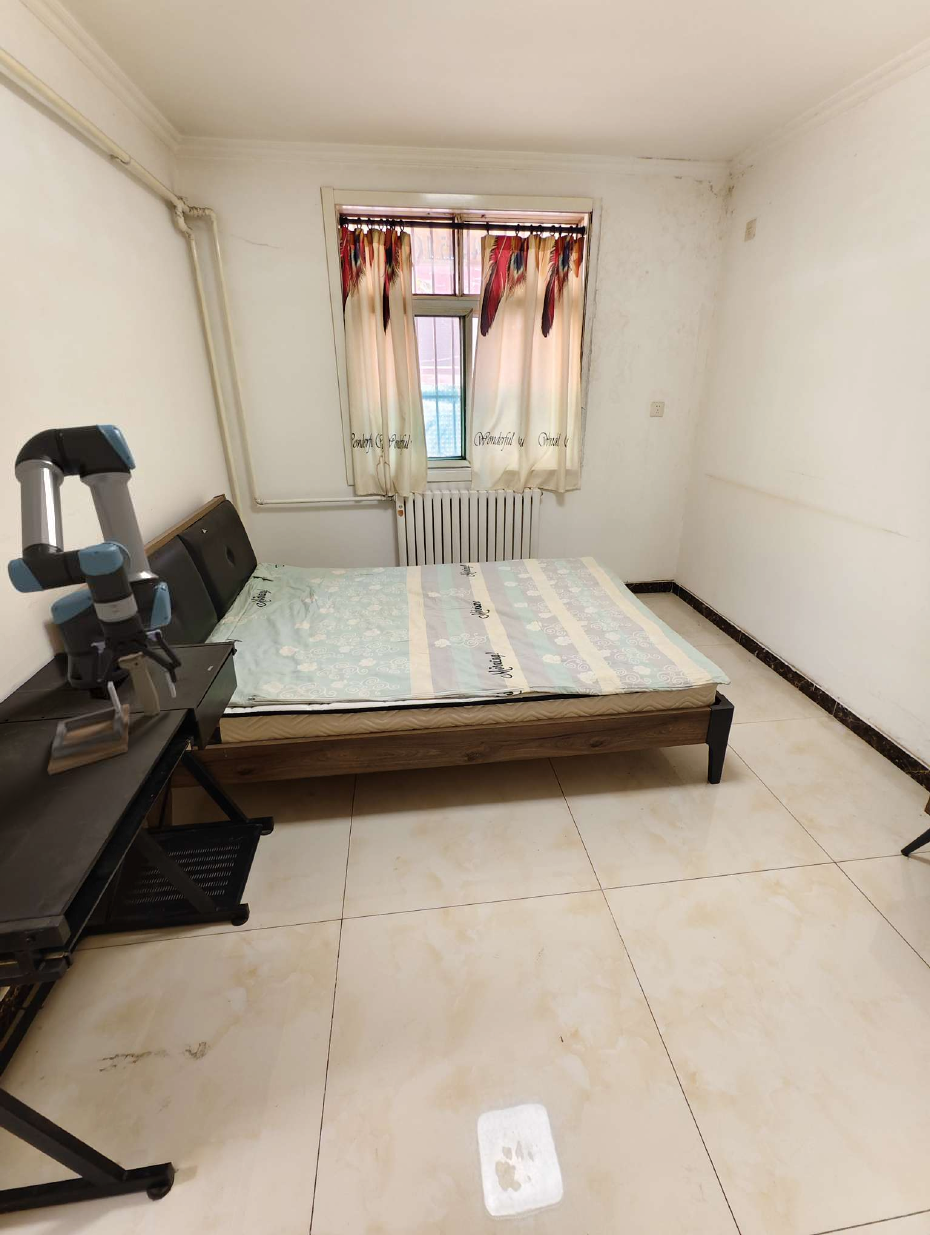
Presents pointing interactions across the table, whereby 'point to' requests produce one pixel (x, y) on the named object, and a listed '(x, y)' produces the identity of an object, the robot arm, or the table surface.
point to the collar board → (90, 738)
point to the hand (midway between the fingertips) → (146, 701)
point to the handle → (142, 682)
